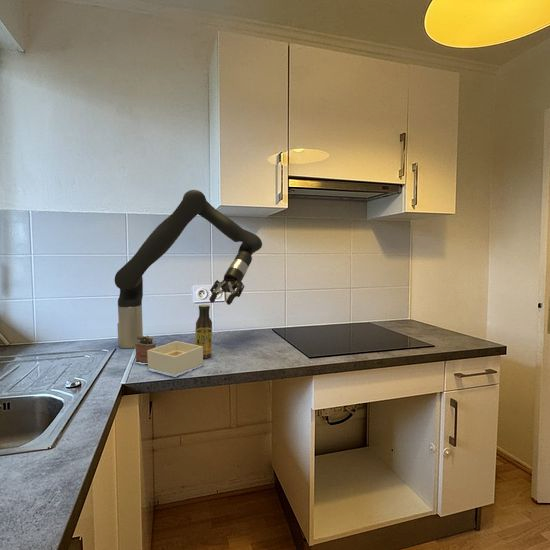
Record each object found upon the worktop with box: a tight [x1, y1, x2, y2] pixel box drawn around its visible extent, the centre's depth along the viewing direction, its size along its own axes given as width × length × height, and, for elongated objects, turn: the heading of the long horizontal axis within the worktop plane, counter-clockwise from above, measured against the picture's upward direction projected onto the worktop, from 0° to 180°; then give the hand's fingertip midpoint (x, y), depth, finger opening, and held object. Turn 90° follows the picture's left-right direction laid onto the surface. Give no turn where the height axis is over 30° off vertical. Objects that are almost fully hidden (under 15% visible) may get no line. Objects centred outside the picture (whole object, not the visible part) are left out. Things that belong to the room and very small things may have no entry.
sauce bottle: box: [194, 304, 213, 359], centre depth 127 cm, size 7×6×20 cm
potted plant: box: [135, 335, 157, 363], centre depth 120 cm, size 8×3×10 cm, turn 74°
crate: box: [147, 340, 204, 375], centre depth 115 cm, size 13×13×7 cm
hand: (219, 302), depth 134 cm, fingers open, 8 cm apart
